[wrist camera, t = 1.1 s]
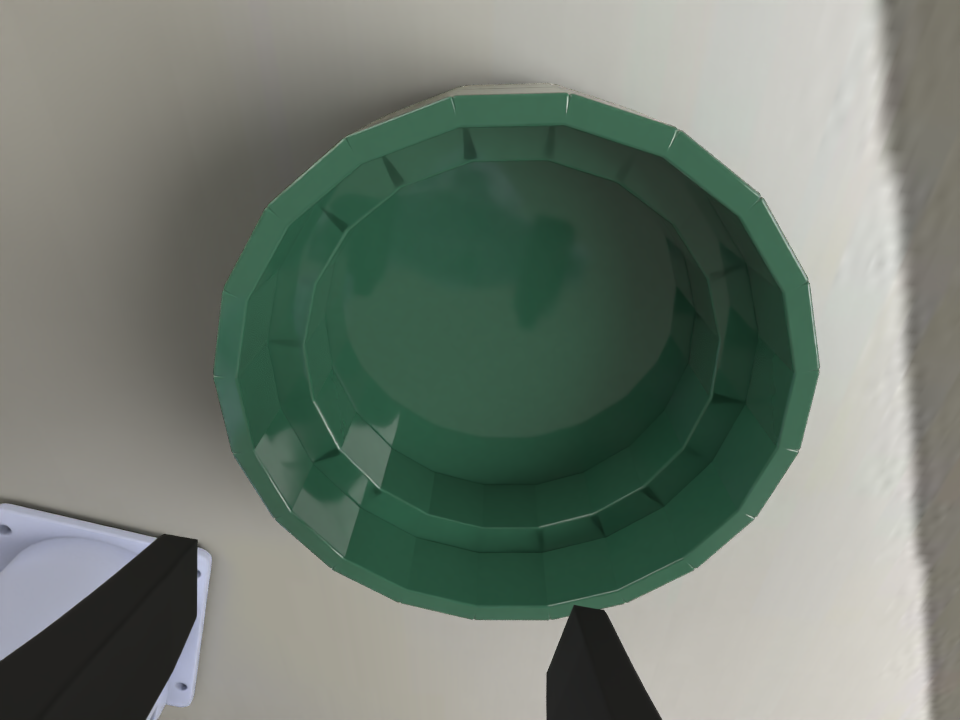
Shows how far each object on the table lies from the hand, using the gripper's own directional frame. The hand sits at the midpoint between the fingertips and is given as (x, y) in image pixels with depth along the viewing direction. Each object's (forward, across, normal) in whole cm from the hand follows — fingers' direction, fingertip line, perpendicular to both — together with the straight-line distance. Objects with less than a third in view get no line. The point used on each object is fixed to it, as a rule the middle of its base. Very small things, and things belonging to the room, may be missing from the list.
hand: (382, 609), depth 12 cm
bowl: (+9, -2, -2) cm, 10 cm away
